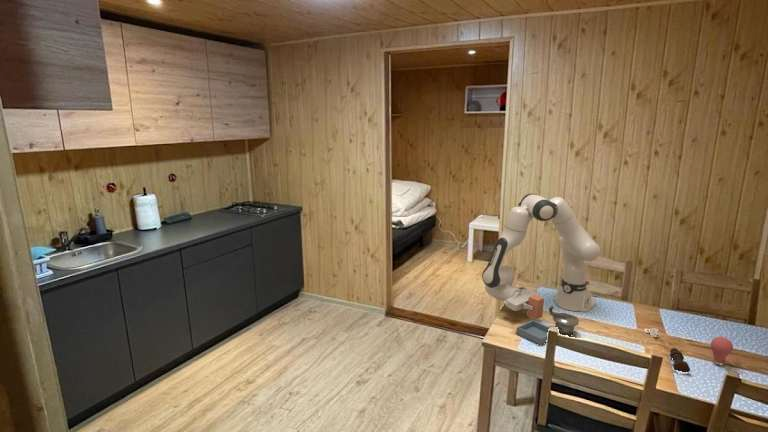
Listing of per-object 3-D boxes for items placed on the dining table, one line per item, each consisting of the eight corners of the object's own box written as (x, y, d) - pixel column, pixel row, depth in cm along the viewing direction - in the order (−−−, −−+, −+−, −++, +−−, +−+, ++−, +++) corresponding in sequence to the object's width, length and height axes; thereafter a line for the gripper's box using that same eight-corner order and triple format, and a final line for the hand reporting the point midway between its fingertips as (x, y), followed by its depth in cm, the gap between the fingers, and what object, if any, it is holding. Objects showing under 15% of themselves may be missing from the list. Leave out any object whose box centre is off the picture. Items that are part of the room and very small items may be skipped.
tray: (532, 326, 199) (533, 319, 198) (556, 337, 189) (557, 330, 188) (516, 334, 192) (516, 327, 191) (540, 346, 182) (541, 339, 181)
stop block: (533, 313, 206) (535, 294, 203) (542, 316, 202) (544, 297, 199) (526, 315, 203) (528, 296, 200) (535, 319, 199) (537, 300, 196)
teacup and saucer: (641, 330, 198) (643, 323, 198) (661, 334, 195) (662, 327, 194) (643, 339, 191) (645, 331, 190) (664, 343, 187) (665, 335, 186)
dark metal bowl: (579, 331, 195) (582, 310, 193) (573, 341, 187) (576, 319, 184) (550, 322, 203) (553, 302, 201) (543, 331, 195) (546, 310, 192)
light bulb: (702, 359, 175) (708, 333, 172) (718, 359, 175) (724, 333, 172) (716, 369, 168) (723, 342, 165) (733, 369, 168) (739, 342, 166)
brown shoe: (675, 359, 178) (682, 377, 164) (663, 351, 179) (670, 368, 166) (685, 350, 175) (693, 368, 162) (674, 342, 177) (681, 359, 163)
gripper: (500, 295, 204) (524, 306, 193) (525, 286, 216) (549, 295, 205) (499, 307, 206) (523, 318, 195) (524, 297, 218) (548, 307, 207)
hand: (537, 306), depth 200 cm, fingers closed on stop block, 5 cm apart
